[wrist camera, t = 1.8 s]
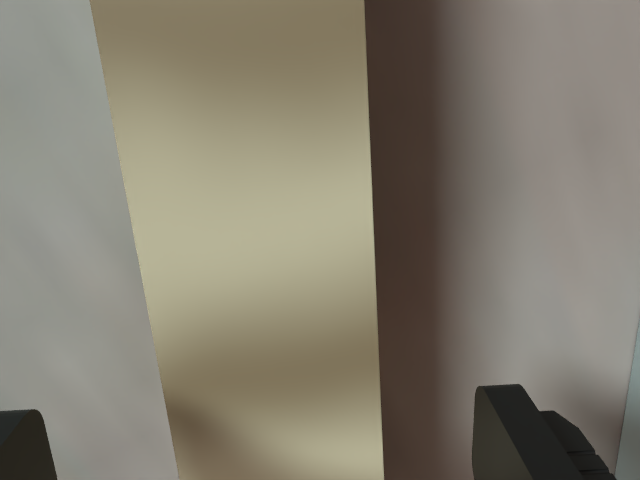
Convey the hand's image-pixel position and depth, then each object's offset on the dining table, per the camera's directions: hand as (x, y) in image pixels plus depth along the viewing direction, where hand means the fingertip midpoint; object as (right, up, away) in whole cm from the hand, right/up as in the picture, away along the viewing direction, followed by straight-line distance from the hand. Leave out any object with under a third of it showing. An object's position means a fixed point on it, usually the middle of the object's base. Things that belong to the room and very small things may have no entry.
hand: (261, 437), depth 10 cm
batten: (0, +3, +7) cm, 8 cm away
